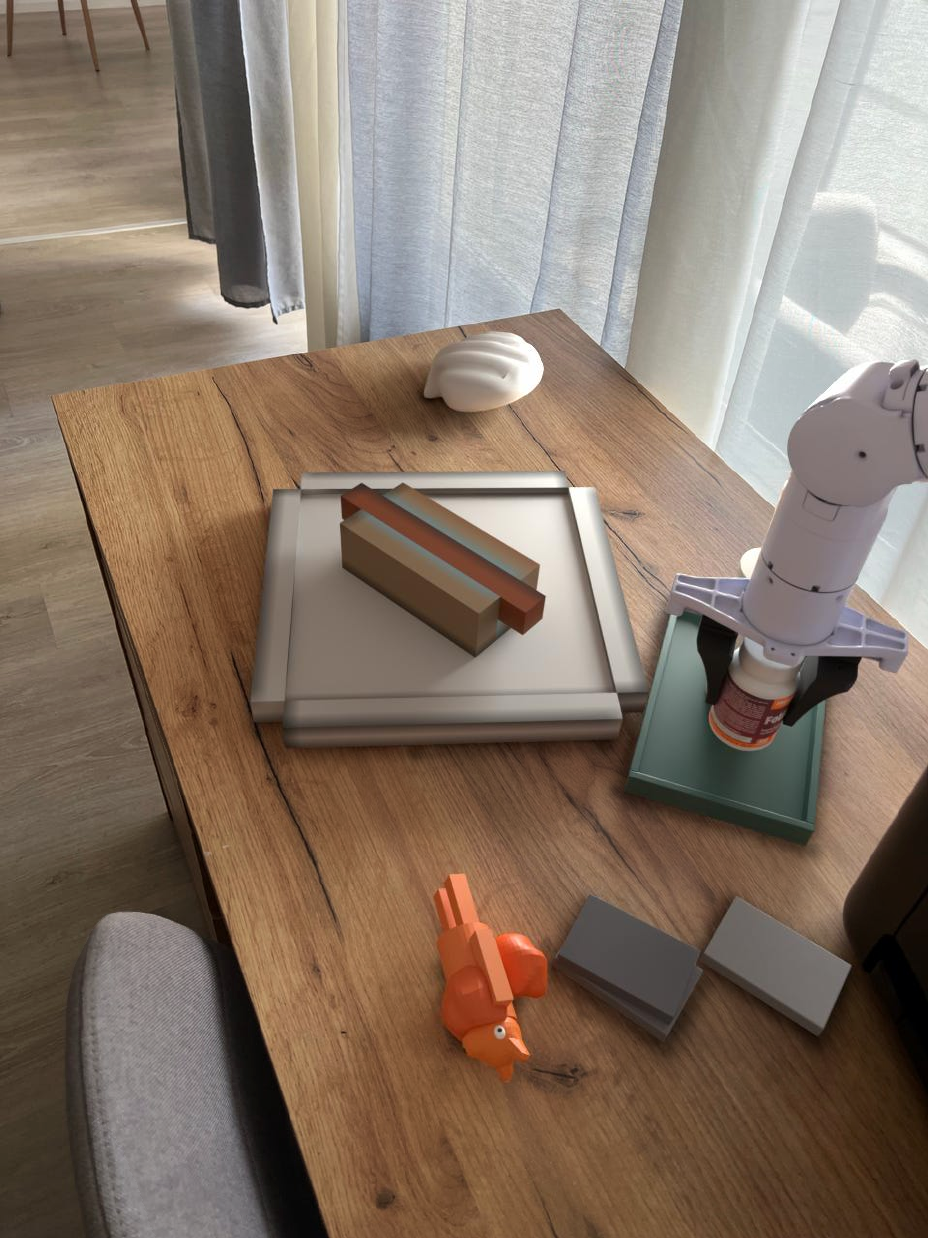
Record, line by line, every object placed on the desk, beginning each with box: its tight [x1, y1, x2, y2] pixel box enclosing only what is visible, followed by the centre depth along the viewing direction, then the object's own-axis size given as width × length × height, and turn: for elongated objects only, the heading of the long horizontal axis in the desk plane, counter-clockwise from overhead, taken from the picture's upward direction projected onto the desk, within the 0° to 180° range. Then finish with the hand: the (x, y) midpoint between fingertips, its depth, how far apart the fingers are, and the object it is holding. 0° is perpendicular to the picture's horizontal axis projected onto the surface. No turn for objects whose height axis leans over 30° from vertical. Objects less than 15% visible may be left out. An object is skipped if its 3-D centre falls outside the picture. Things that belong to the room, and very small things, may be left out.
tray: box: [623, 611, 827, 847], centre depth 75 cm, size 21×13×2 cm, turn 161°
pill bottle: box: [709, 636, 805, 751], centre depth 65 cm, size 5×5×8 cm
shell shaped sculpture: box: [423, 330, 544, 413], centre depth 103 cm, size 13×13×6 cm
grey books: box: [551, 893, 852, 1043], centre depth 60 cm, size 16×11×2 cm
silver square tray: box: [249, 470, 650, 749], centre depth 80 cm, size 30×30×8 cm
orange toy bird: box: [432, 873, 548, 1082], centre depth 58 cm, size 5×8×12 cm
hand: (749, 704), depth 66 cm, fingers closed on pill bottle, 5 cm apart
